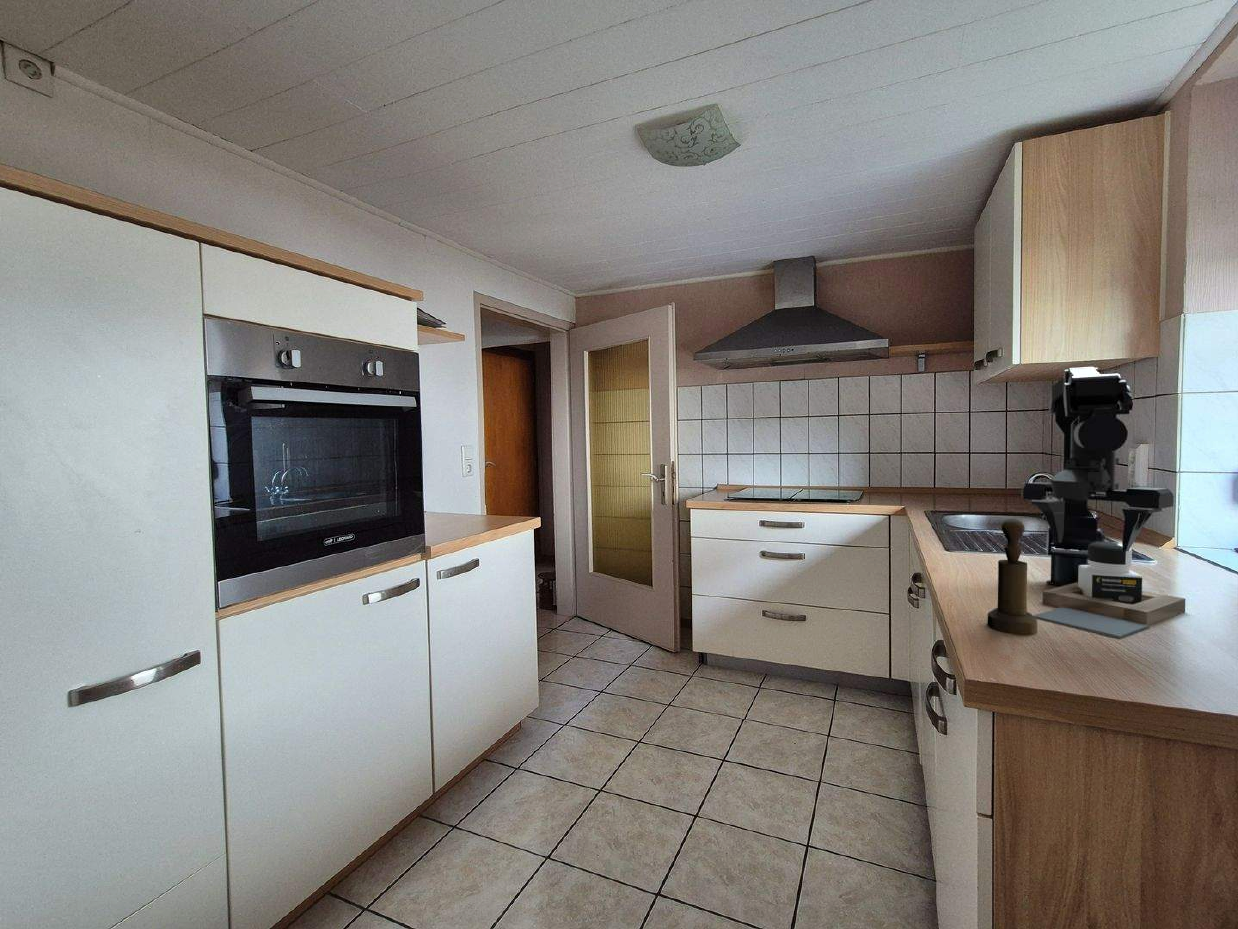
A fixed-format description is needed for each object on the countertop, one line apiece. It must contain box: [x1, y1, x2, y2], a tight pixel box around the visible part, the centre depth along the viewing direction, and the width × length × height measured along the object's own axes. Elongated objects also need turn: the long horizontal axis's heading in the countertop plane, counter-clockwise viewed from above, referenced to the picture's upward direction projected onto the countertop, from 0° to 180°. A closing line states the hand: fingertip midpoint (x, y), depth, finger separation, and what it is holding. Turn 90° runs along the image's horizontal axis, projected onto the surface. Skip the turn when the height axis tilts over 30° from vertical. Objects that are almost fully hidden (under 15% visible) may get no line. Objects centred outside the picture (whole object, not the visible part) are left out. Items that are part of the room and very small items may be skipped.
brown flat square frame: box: [1042, 582, 1186, 627], centre depth 103 cm, size 15×15×2 cm
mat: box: [1032, 607, 1150, 640], centre depth 95 cm, size 12×10×1 cm
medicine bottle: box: [1078, 541, 1143, 605], centre depth 105 cm, size 7×7×12 cm
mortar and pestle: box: [986, 518, 1038, 636], centre depth 93 cm, size 7×6×18 cm
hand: (1090, 546), depth 95 cm, fingers open, 9 cm apart
